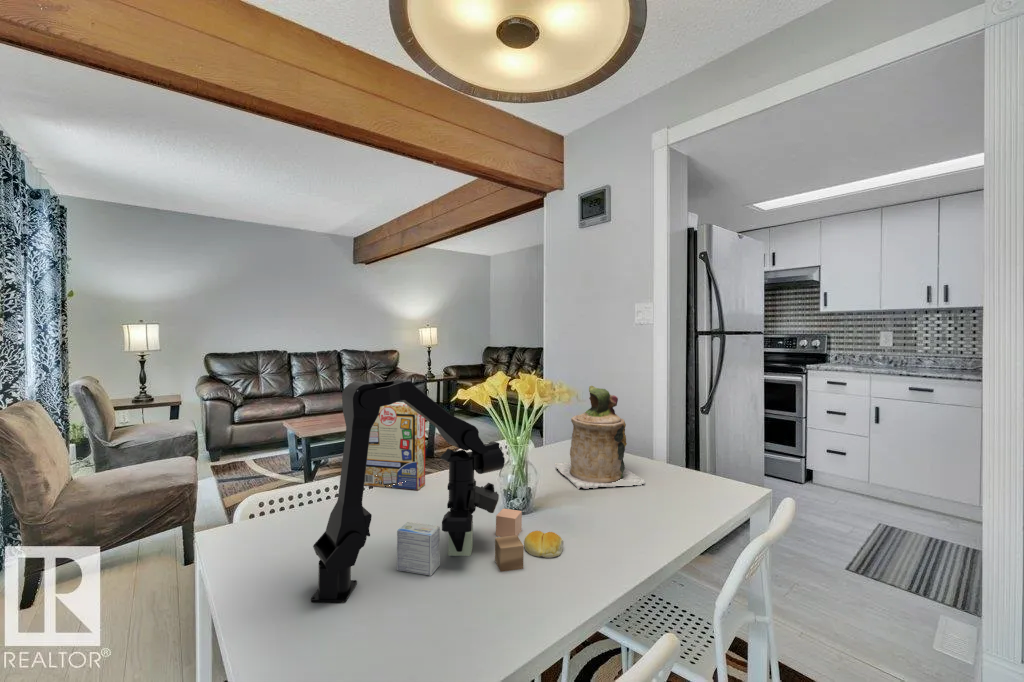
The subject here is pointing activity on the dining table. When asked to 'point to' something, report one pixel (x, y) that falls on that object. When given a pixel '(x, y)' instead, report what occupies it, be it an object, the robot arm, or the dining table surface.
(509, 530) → the terracotta cube
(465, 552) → the sage cube
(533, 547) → the bread roll
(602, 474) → the cookie jar
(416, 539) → the medicine box
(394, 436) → the board game box
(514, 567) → the walnut cube
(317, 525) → the dining table surface
